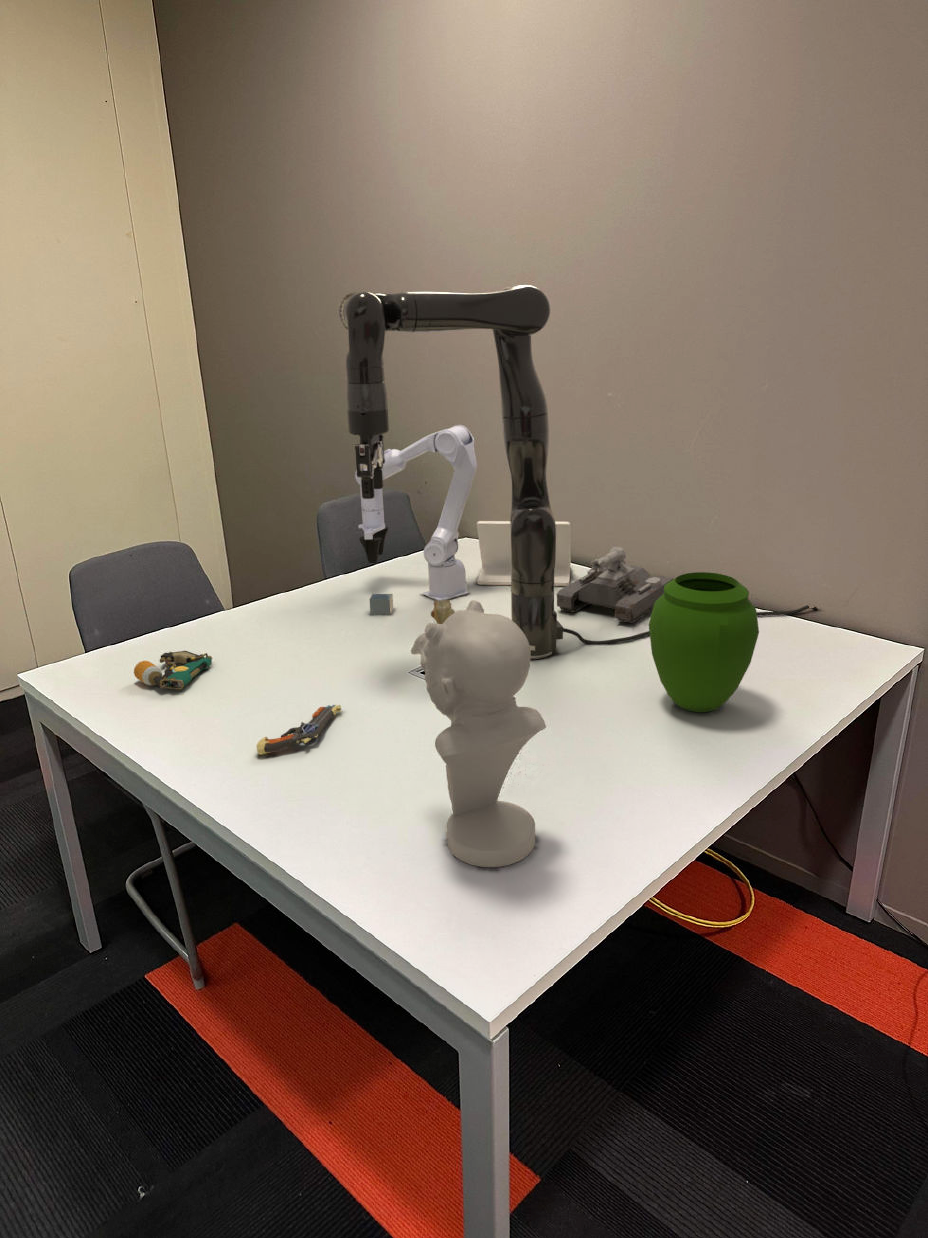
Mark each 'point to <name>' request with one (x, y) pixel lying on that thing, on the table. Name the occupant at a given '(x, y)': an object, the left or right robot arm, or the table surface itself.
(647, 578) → the toy
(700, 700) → the vase
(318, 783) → the table surface
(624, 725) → the table surface
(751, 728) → the table surface
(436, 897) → the table surface
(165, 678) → the spray gun
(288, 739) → the toy gun
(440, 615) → the sculpture
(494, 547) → the tablet stand
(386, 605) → the block
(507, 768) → the bust sculpture
